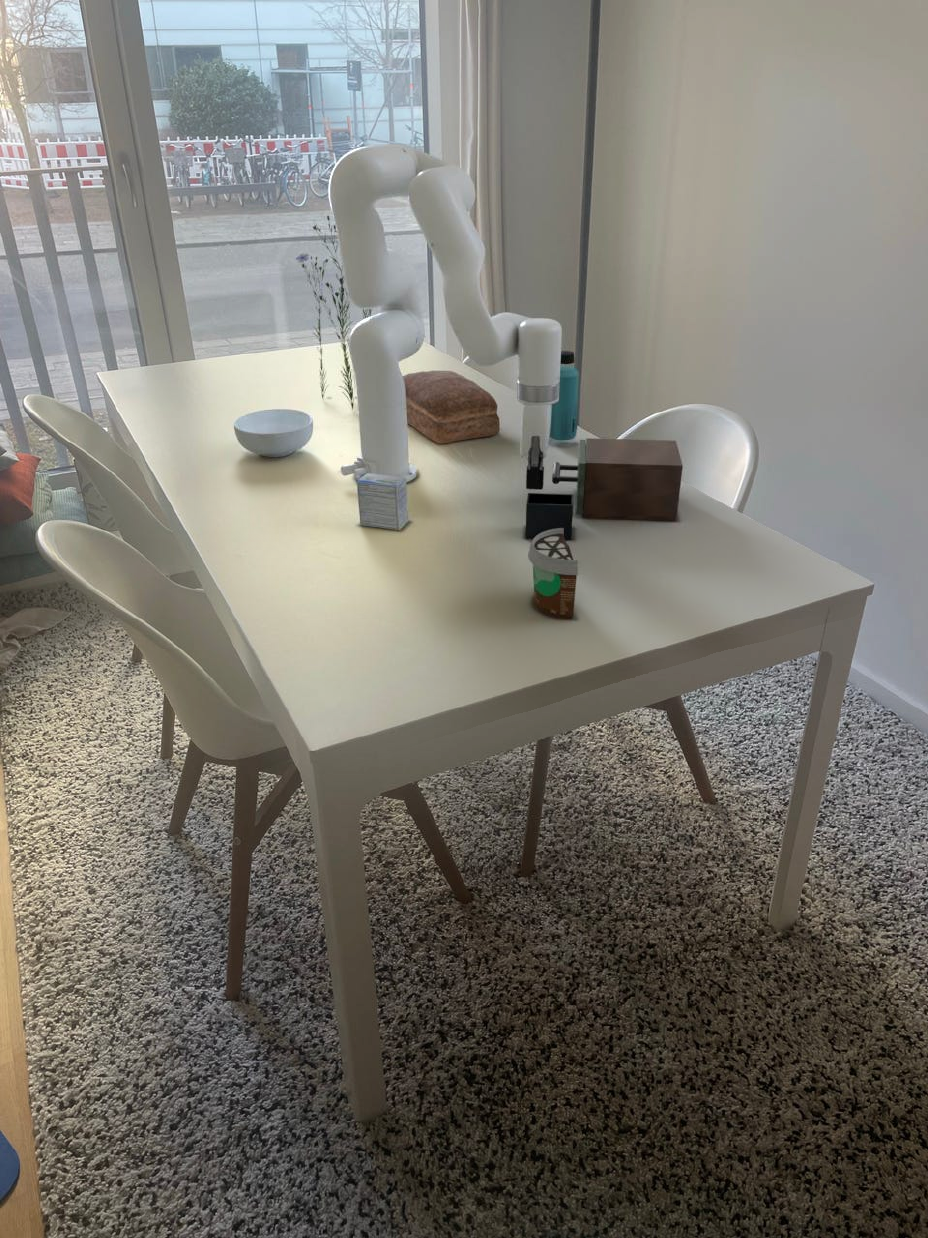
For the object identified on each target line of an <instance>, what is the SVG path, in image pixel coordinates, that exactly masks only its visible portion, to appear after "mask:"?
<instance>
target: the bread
mask: <svg viewBox="0 0 928 1238" xmlns="http://www.w3.org/2000/svg"><path fill="white" fill-rule="evenodd" d="M402 377H403V380H404V384H405V391H406V410H407V424H408V425H410V426H412V427H413V428H414V429H416V430H417V432H419V433H420V434H422V435H424V436H425V437H427V438H428V439H430V440H431V441H433V442H435V443H437V444H447V443H454V442H459V441H464V440H470V439H478V438H485V437H491V436H494V435H495V436H496V435H498V434H499V432H500V429H501V427H500V423H501V422H500V417H499V415H498V404H497V401H496V400H495V398H494V396H492V394H491V393H490V392H488V391H487V390H485V389H484V388H483V387H481V386H480V385H479V384H477V383H476V382H475V381H473V380H471V379H468V378H466V377H465V376H464V375H462V374H459V373H457V372H456V371H452V370H428V371H418V372H409V373H407V374H405V375H402Z"/></svg>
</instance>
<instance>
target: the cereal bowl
mask: <svg viewBox="0 0 928 1238" xmlns="http://www.w3.org/2000/svg"><path fill="white" fill-rule="evenodd" d="M233 430H234V435H235V436H236V440H237V442H238V443H239V444H240V445H241V447H242V448H244V449H245V450H247V451H249V452H251V453H254V454H258V455H260V456H262V457H267V458H282V457H288V456H289V455H291V454H293V453H294V452H295V451H298V450H301V449H302V448H304V447H305V446H306V445H307V444H308V443H309V442H310V441H311V438H312V436H313V432H314V420H313V417H312V416H311V415H310V414H309V413H307V412H305V411H301V410H297V409H289V408H272V409H264V410H258V411H253V412H249V413H246V414H244V415H242V416H239V417H238V418H236V419H235V421H234V422H233Z"/></svg>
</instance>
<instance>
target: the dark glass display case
mask: <svg viewBox="0 0 928 1238" xmlns="http://www.w3.org/2000/svg"><path fill="white" fill-rule="evenodd" d="M573 516H574V494H573V493H572V494H571V493H569V494H568V493H542V492H539V493H537V492H528V493H527V496H526V504H525V536H524V537H525V539H528V540H529V539H532V540H533V539H534V538H535V537H536V536H537V535H538V534H540V533H542V532H545V531H548V530H552V529H558V528H564V534H563V536H564V538H565V541H572V537H573V519H574V518H573Z"/></svg>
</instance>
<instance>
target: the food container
mask: <svg viewBox="0 0 928 1238" xmlns="http://www.w3.org/2000/svg"><path fill="white" fill-rule="evenodd" d="M563 534H564V528H558V529H552V530H548V531H545V532H542V533H540V534H538V535H537V536H536V537H535V538H534V539H532V541H531V543H530V546H529V550H528V555H527V557H528V560H529V562H530V563H531V564H532V576H533V577H532V578H533V598H534V599H533V600H534V601H533V603H534V607H535V608H536V609H537V611H539V612H540V613H542V614H544V615H546V616H549V617H552V618H557V619H564V620H565V619H567V620H570V619H571V620H573V619H574V610H575V600H576V588H577V576H578V575H579V561H578V559H574V557H573V554H572V552H571V548H570V546H569V544H568V542H567V540H565V538H564V536H563Z"/></svg>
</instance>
